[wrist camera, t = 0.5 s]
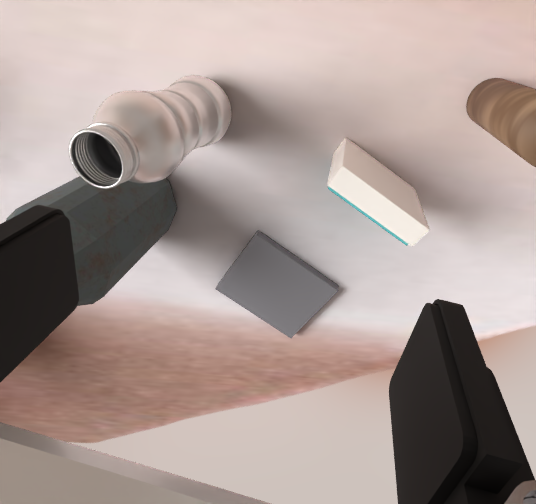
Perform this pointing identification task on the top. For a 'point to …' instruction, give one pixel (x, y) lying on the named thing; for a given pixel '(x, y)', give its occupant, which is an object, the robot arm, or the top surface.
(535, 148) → the dowel
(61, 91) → the top surface
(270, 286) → the mat
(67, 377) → the top surface
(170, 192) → the bottle
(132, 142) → the plastic bottle
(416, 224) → the tile
